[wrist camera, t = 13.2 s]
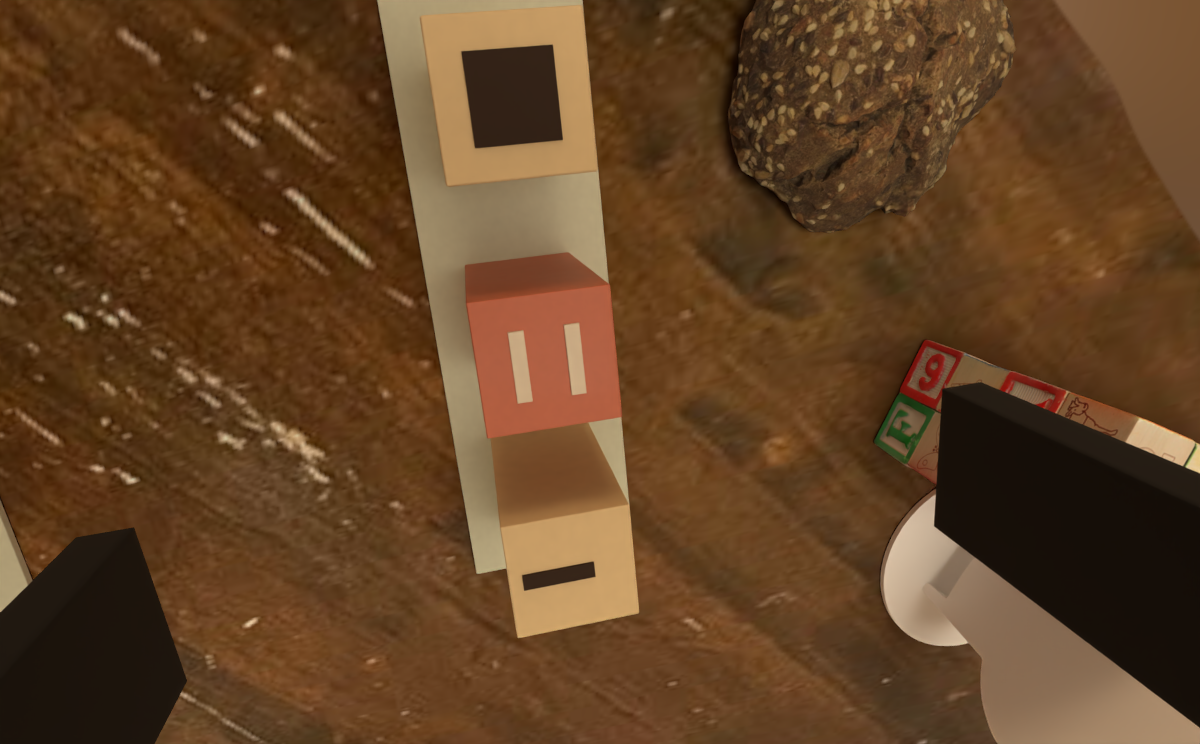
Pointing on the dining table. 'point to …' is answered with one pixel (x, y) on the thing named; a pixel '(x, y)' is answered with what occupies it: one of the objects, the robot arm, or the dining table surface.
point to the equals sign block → (542, 343)
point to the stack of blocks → (938, 366)
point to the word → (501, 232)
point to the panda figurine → (1017, 648)
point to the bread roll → (861, 98)
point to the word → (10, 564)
